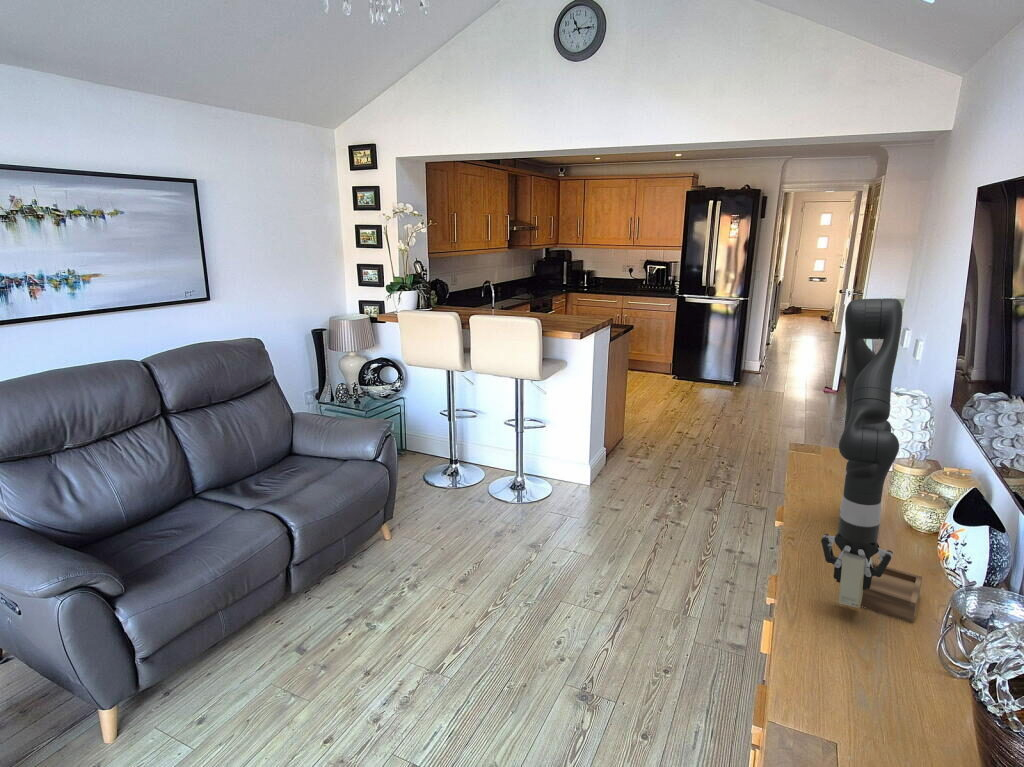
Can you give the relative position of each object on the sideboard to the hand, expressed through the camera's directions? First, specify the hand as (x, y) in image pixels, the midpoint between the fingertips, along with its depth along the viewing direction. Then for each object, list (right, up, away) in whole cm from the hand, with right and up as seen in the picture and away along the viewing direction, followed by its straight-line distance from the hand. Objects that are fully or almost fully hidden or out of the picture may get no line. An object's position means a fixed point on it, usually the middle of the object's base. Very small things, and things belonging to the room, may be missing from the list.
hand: (851, 583), depth 131 cm
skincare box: (0, -4, +1) cm, 4 cm away
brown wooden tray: (+12, -6, +7) cm, 15 cm away
